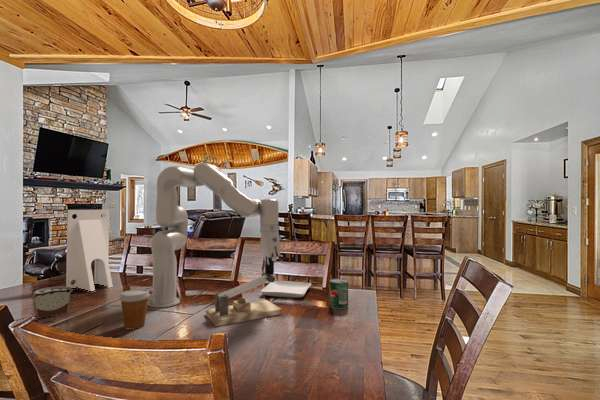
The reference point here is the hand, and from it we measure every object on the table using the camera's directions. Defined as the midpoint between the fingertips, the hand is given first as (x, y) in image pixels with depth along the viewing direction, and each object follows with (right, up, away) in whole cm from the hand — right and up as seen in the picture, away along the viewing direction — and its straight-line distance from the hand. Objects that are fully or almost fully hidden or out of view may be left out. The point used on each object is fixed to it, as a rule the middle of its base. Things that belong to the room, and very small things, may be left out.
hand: (269, 273), depth 133 cm
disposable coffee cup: (-46, -15, -19) cm, 52 cm away
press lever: (-8, -5, -5) cm, 11 cm away
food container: (-84, -14, -7) cm, 86 cm away
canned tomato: (+29, -15, +6) cm, 34 cm away
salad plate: (+6, -16, +27) cm, 32 cm away
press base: (-10, -15, -6) cm, 18 cm away
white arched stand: (-93, -15, +33) cm, 100 cm away
